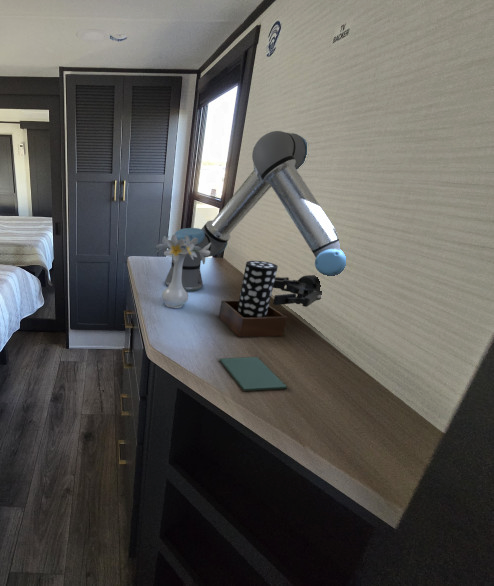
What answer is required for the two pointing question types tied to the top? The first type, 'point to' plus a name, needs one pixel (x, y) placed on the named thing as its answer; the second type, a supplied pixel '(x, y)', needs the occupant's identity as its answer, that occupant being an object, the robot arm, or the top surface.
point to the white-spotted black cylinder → (256, 288)
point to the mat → (252, 374)
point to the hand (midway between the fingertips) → (257, 291)
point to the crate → (252, 321)
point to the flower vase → (179, 267)
